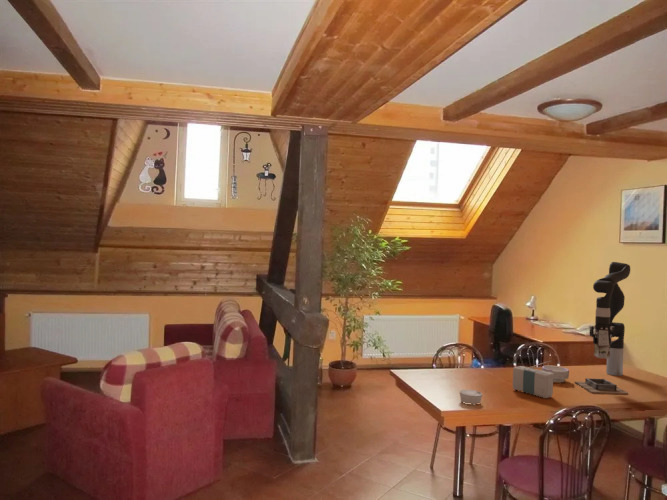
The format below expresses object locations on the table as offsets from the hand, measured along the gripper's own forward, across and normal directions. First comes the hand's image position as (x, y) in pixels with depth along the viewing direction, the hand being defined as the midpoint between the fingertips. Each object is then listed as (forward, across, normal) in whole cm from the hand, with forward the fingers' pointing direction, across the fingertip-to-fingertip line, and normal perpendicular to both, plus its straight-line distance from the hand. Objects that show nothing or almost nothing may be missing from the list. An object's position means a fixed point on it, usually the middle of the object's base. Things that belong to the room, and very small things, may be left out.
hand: (601, 344), depth 308 cm
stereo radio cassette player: (+26, +44, +15) cm, 53 cm away
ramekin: (+26, +83, +35) cm, 94 cm away
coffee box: (+7, 0, 0) cm, 8 cm away
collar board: (+26, 0, 0) cm, 26 cm away
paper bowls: (+26, +20, -15) cm, 36 cm away
